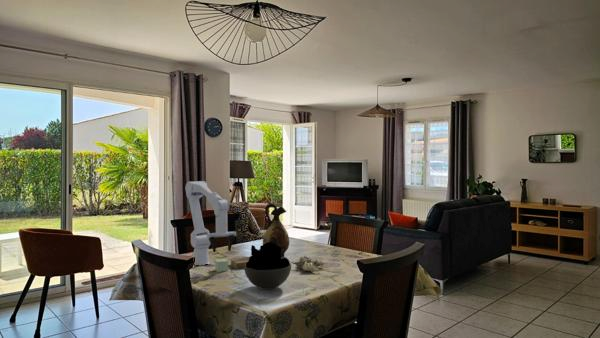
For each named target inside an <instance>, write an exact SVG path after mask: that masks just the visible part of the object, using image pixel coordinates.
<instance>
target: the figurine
mask: <svg viewBox="0 0 600 338" xmlns="http://www.w3.org/2000/svg"><path fill="white" fill-rule="evenodd" d="M289 262H290V263H291V264H293V265H295V266H296V268H299V269H301V270H302V271H305V272H307V271H308V273H309V272H312V273H313V272H322V270H321V268H319V267H322V268H325V269H328V266H324V265H326V264H327V265H329V264H330V262H323V261H321V260H317V259H315V260H314V259H313V258H310V257H308V256H306V255H304V256H300V257H299V260H298V261H296V262H295V261H290V260H289Z"/></svg>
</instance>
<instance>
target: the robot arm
mask: <svg viewBox="0 0 600 338" xmlns="http://www.w3.org/2000/svg"><path fill="white" fill-rule="evenodd" d="M184 189H185V194H186V198H187V199H188V203H189V208H190V213H191V218H192V223H193V231H192V232H191V233H190V245H191V247H192V248H194V249H193V258H194V257H195V259H196V262H195V264H196V265H197V264H198V265H199V266H206V265H205V264H208V265H211V264H212V263H211V262H210V261H209V247H210V245H211V247H212V252H213V253H214V254H215V253H216V241H217V240H216V239H217V238H224V237H227V251H228V252H231V249H232V246H233V242H234V241H235V239H236V237H237V231H228V211H229V210H230V208H231V207H230V205H231V204H230V201H229V200H228V199H225V198H222V196H220V195H219V194H218V192H216V191H214V192H213V191H212V190H211V189H210V188H209V187H208V183H207V182H206V181H205V180H199V181H197V180H196V181H190V180H189V181H187V182H186V184H185V188H184ZM203 196H205V197H206V199H207V200H206V201H207V202H208V203H209V204H210V205H211V206H212V208H213V212H214V215H215V232H211V233H210V230H209V229H207V228H206V227H205V225H204V220H203V215H202V214H203V213H202V209H201V204H200V199H201V198H202V197H203Z"/></svg>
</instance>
